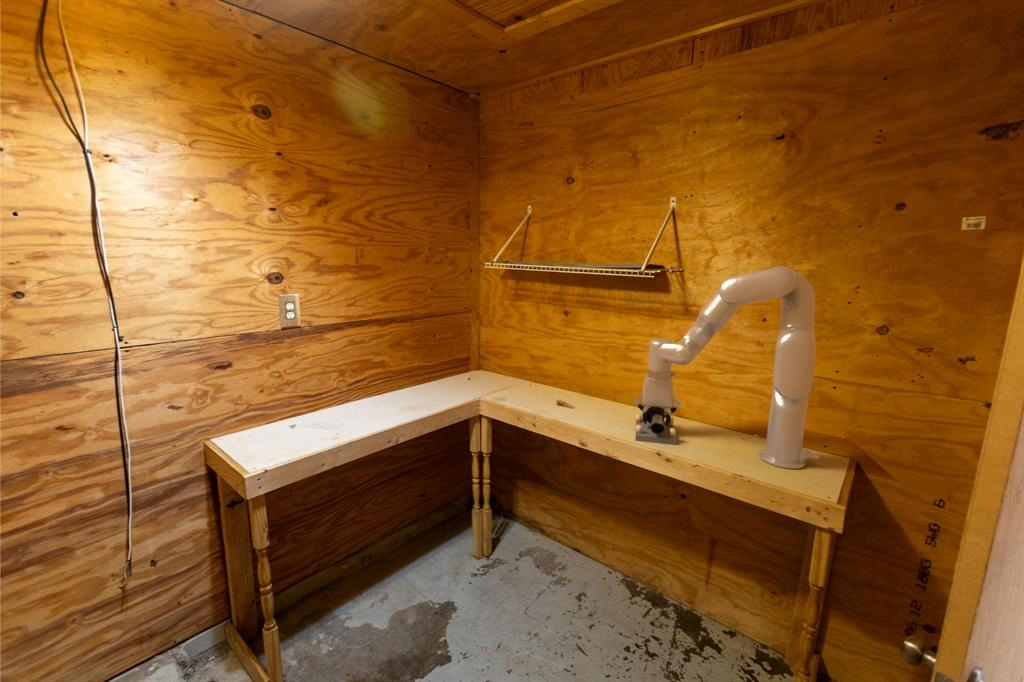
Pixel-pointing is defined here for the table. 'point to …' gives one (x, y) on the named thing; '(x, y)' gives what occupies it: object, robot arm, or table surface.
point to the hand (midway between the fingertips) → (655, 423)
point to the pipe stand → (648, 436)
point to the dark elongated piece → (656, 419)
